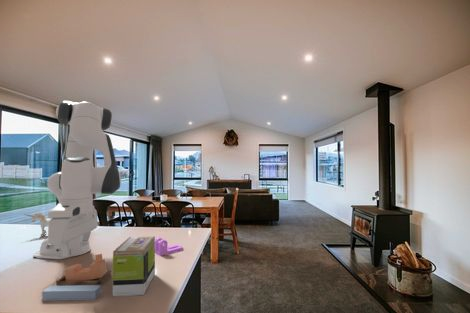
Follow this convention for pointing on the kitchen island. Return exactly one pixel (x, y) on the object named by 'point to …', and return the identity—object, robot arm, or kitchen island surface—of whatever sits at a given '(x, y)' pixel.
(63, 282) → the cradle
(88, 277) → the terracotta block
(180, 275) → the kitchen island surface
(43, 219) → the unicorn figurine
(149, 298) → the kitchen island surface
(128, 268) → the tea box
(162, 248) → the bracket
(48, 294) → the panel
